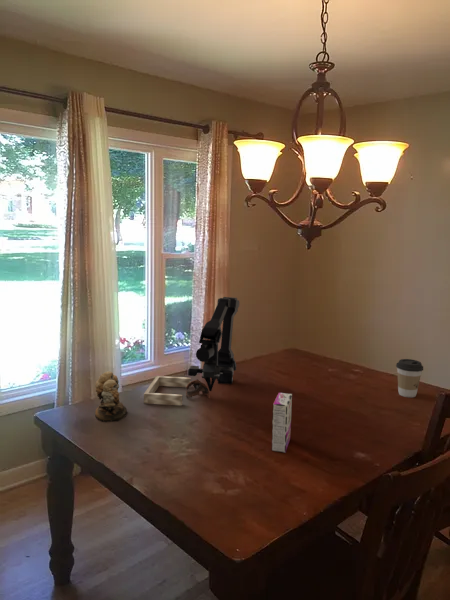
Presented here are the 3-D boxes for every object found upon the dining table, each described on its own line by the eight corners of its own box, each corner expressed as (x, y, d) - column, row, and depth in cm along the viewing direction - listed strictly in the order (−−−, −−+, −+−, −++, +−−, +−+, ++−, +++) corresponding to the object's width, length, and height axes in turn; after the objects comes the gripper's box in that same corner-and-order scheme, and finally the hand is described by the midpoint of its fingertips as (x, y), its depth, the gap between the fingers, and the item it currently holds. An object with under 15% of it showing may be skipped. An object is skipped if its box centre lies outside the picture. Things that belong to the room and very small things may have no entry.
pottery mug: (212, 401, 203) (204, 387, 199) (192, 410, 203) (183, 396, 199) (208, 385, 214) (201, 371, 210) (189, 394, 214) (181, 380, 210)
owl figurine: (128, 422, 179) (127, 378, 176) (95, 425, 176) (93, 380, 173) (125, 404, 196) (124, 363, 193) (95, 406, 193) (94, 365, 190)
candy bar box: (276, 436, 170) (278, 391, 168) (290, 438, 169) (292, 393, 166) (270, 451, 160) (272, 403, 157) (285, 453, 158) (288, 405, 156)
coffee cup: (416, 401, 208) (419, 367, 205) (390, 395, 214) (392, 362, 212) (424, 394, 217) (427, 361, 214) (398, 388, 223) (401, 356, 221)
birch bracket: (190, 386, 219) (190, 377, 218) (181, 405, 196) (181, 395, 196) (156, 384, 220) (156, 375, 220) (143, 403, 198) (143, 393, 197)
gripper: (185, 359, 197) (185, 396, 199) (232, 361, 195) (231, 399, 198) (190, 352, 208) (189, 387, 210) (233, 354, 206) (233, 389, 209)
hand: (210, 391), depth 207 cm, fingers closed
